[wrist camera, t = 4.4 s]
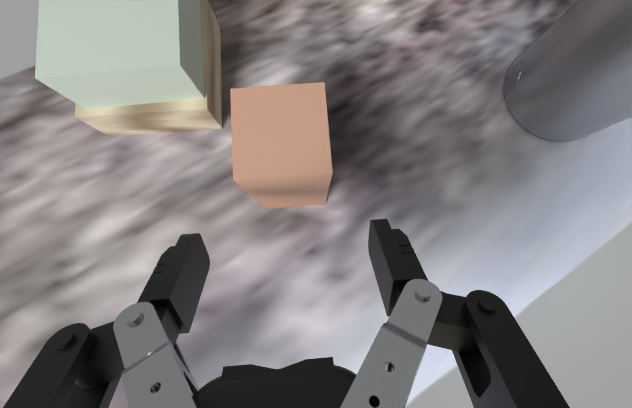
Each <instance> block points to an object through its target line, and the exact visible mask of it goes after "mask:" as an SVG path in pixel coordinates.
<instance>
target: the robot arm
mask: <svg viewBox="0 0 632 408" xmlns="http://www.w3.org/2000/svg"><path fill="white" fill-rule="evenodd" d="M504 96H505V100H506V103H507V106H508V108H509V110H510V112H511V113H512V115H513V117H514V118H515V119H516V120H517V121H518V123H519V124H520V125H521V126H523V127H524V128H525V129H526V130H528V131H529V132H531V133H532V134H534V135H536V136H538V137H541V138H544V139H547V140H550V141H559V142H564V141H573V140H576V139H579V138H582V137H585V136H587V135H590V134H592V133H594V132H597V131H599V130H601V129H604V128H606V127H609V126H611V125H613V124H616V123H618V122H621V121H623V120H625V119H628V118H631V117H632V0H579V1H577V2H576V3H575V4H574V5H573V6H572V7H571V8H570V9H569V10H568V11H567V12H566V13H565V14H564V15H563V16H562V17H561V18H559V19H558V20H557V21H556V22H555V23H554V24H553V25H552V26H551V27H550V28H549V29H548V30H547V31H546V32H545V33H543V34H542V35H541V36H540V37H539V38H538V39H537V40H536V41H535V42H534V43H533V44H532V45H531V46H530V47H529V48H528V49H527V50H525V51H524V52H523V53H522V54H521V55H520V56H519V57H518V58H517V59H516V60H515V61H514V62H513V64H512V65H511V66H510V68H509V69H508V72H507V74H506V77H505V82H504ZM368 248H369V255H370V259H371V262H372V266H373V269H374V273H375V276H376V280H377V283H378V286H379V290H380V293H381V297H382V300H383V303H384V307H385V310H386V314H387V316H390V317H389V319H388V321H387V323H386V324H385V323H384V324H383V325H382V327H381V328H380V330H379V332H378V334H377V336H376V338H375V340H374V342H373V344H372V346H371V348H370V350H369V352H368V354H367V356H366V358H365V360H364V362H363V364H362V366H361V368H360V370H359V372H358V374H357V375H356V374H355V373H353V372H352V371H350V370H348V369H346V368H343V367H340V366H336V365H334V364H333V357H328V358H317V359H306V360H303V361H301V362H298V363H295V364H292V365H290V366H287V367H284V368H282V369H271V368H266V367H261V366H256V365H251V364H249V365H238V366H227V367H223V372H222V376H220V377H218V378H216V379H214V380H212V381H210V382H209V383H207V384H206V385H204V386H203V387H202V388H201V389H200V388H199V387H198V385H197V383H196V381H195V379H194V377H193V375H192V373H191V371H190V369H189V367H188V365H187V363H186V361H185V359H184V356H183V354H182V352H181V350H180V348H179V346H178V344H177V342H176V340H177V338H178V335H179V334H180V333H189V331H190V328H191V325H192V321H193V318H194V315H195V312H196V309H197V306H198V302H199V299H200V296H201V293H202V290H203V287H204V283H205V280H206V277H207V274H208V271H209V266H210V259H209V255H208V253H207V250H206V247H205V245H204V242H203V240H202V237H201V235H200V234H199V233H196V234H183V235H181V236H180V237H179V240H178V242H177V244H176V246H171V247H169V248H168V249H167V250H166V251H165V252H164V253H163V254H162V255H161V257H160V259H159V261H158V263H157V266H156V267H155V269H154V271H153V274H152V275H151V277H150V279H149V281H148V282H147V284H146V286H145V288H144V290H143V292H142V294H141V296H140V298H139V300H138V302H137V303H136V304H133V305H131V306H129V307H127V308H126V309H125V310H123V311H122V312H121V313H120V314H119V315H118V317H117V318H116V320H115V321H113V322H111V323H108V324H105V325H102V326H99V327H97V328H94V329H90V328H89V327H88V326H87V325H85V324H83V323H76V324H72V325H69V326H67V327H65V328H63V329H61V330H59V331H58V332H57V333H55V334H54V335H53V336H52V337H51V338H50V339H49V340H48V341H47V342H46V344H45V345H44V347H43V348H42V350H41V351H40V353H39V354H38V356H37V357H36V359H35V360H34V362H33V363H32V365H31V366H30V368H29V369H28V371H27V372H26V374H25V375H24V377H23V378H22V380H21V381H20V383H19V384H18V386H17V387H16V389H15V390H14V392H13V393H12V395H11V396H10V398H9V400H8V401H7V403H6V404H5V406H4V407H3V408H108V407H109V405H110V402H111V400H112V397H113V395H114V392H115V390H116V387H117V385H118V382H119V380H120V377H121V378H122V382H123V385H124V389H125V393H126V396H127V400H128V404H129V407H130V408H405V405H406V403H407V400H408V397H409V394H410V391H411V388H412V385H413V383H414V380H415V377H416V374H417V371H418V369H419V366H420V363H421V360H422V357H423V355H424V352H425V349H426V346H427V344H429V345H433V346H437V347H442V348H446V349H450V350H452V352H453V354H454V357H455V359H456V362H457V365H458V367H459V370H460V372H461V375H462V377H463V380H464V382H465V385H466V388H467V390H468V393H469V396H470V398H471V401H472V403H473V406H474V408H570V407H569V406H568V404H567V403H566V401H565V399H564V398H563V396H562V394H561V393H560V391H559V390H558V388H557V386H556V385H555V383H554V381H553V380H552V378H551V377H550V375H549V373H548V372H547V370H546V369H545V367H544V365H543V364H542V362H541V360H540V359H539V357H538V356H537V354H536V352H535V351H534V349H533V348H532V346H531V344H530V343H529V341H528V339H527V338H526V336H525V335H524V333H523V331H522V330H521V328H520V326H519V325H518V323H517V322H516V320H515V318H514V317H513V315H512V314H511V312H510V310H509V309H508V307H507V305H506V304H505V303H504V302H503V301H502V300H501V299H500V298H499V297H498V296H496V295H494V294H492V293H490V292H487V291H483V290H475V291H472V292H470V293H469V294H468V295H467V297H462V296H457V295H451V294H447V293H444V292H442V291H440V290H439V288H438V287H437V286H436V285H434V284H433V283H431V282H429V281H428V279H427V277H426V275H425V273H424V271H423V269H422V267H421V265H420V262H419V260H418V258H417V256H416V254H415V253H414V250H413V248H412V246H411V243H410V241H409V239H408V237H407V236H406V235H405V234H404V233H403V232H402V231H401V230H400V229H391V227H390V225H389V222H388V220H387V219H378V220H371V221H370V229H369V242H368ZM74 383H75V384H74ZM73 385H74V386H73Z"/></svg>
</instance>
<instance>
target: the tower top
mask: <svg viewBox="0 0 632 408" xmlns="http://www.w3.org/2000/svg"><path fill="white" fill-rule="evenodd" d="M35 78H36V79H37V80H39V81H40V82H42V83H44V84H45V85H47V86H49V87H50V88H52V89H54V90H55V91H57V92H58V93H60V94H62V95H63V96H65V97H67V98H68V99H70V100H72V101H73V102H75V103H76V104H78V105H80V106H81V107H83V108H85V109H95V108H106V107H116V106H127V105H138V104H148V103H159V102H170V101H180V100H191V99H202V98H204V78H203V57H202V36H201V14H200V0H39V15H38V34H37V53H36V71H35Z"/></svg>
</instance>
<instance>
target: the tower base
mask: <svg viewBox="0 0 632 408" xmlns="http://www.w3.org/2000/svg"><path fill="white" fill-rule="evenodd" d="M200 14H201V36H202V57H203V78H204V98H202V99H191V100H180V101H170V102H159V103H148V104H138V105H127V106H116V107H106V108H95V109H85V108H83V107H81V106H80V105H78V104H76V108H75V118H77V119H79V120H81V121H83V122H84V123H86V124H88V125H90V126H92V127H94V128H95V129H97V130H99V131H101V132H103V133H104V134H106V135H108V136H113V135H129V134H145V133H161V132H177V131H193V130H209V129H222V90H221V34H220V26H219V24H218V22H217V19H216V17H215V15H214V12H213V10H212V8H211V5H210V3H209V1H208V0H200Z"/></svg>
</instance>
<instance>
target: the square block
mask: <svg viewBox="0 0 632 408" xmlns="http://www.w3.org/2000/svg"><path fill="white" fill-rule="evenodd" d="M230 94H231V124H232V154H233V180H234V181H235V182H236V183H237V184H238V185H239V186H240V187H242V188H243V189H244V190H245V191H246V192H247V193H249V194H250V195H251V196H252V197H253V198H254V199H256V200H257V201H258V202H259V203H260V204H261V205H263V206H264V207H265V208H266V209H270V208H284V207H297V206H310V205H323V204H325V203H326V199H327V195H328V190H329V186H330V182H331V178H332V174H333V171H332V160H331V149H330V138H329V127H328V116H327V105H326V94H325V83H324V82H320V83H306V84H291V85H276V86H262V87H247V88H233V89H230Z"/></svg>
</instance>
